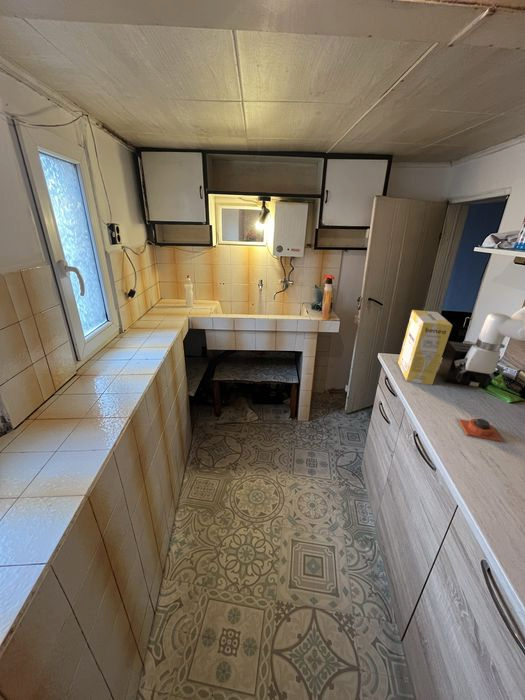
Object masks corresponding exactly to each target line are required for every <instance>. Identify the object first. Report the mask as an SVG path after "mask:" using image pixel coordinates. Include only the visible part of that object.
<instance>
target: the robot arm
mask: <svg viewBox="0 0 525 700" xmlns="http://www.w3.org/2000/svg"><path fill="white" fill-rule="evenodd" d="M505 338H510V339H513V340H516V341H519V342H525V306H523V307H522V308H521V309H519V310H517V311H516V312H515V313H513V314H512V315H511V316H510V315H507V314H503V313H497V312H491V313H489V314H487V316H486V318H485V320H484V323H483V325H482V328H481V330H480V332H479V335H478V338H477V340H476V342H475V343H476V345H472V347H471V348H470V349H469V351H468V353H467V354H466V356H465V358H464V359H461V360H457V361H455V367H456V368H457V370H458V374H457V376H456V379H457V380H458V382H461V381H462V379H463V376H464V374H463V373H464V372H466V371H468V370H469V371H474V372H480V373H487V374H488V375H486V376H485V379H484V381H483V384H484V385H485V386H486V387H487V388H488V387H489V385H490V384H491V382H492V380H494V379H495V378H496V377H499V376H500V375H501V374H503V372H505V368H503V367H502V366H501V365H499V362H500V359H499V356H500V357H501V351H500V350H501V349H504V348H505V347H506V345H505V344H503V343H504V340H505ZM459 364H462V365H463V366H462V367H460V366H459Z"/></svg>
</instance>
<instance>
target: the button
mask: <svg viewBox="0 0 525 700" xmlns="http://www.w3.org/2000/svg"><path fill="white" fill-rule="evenodd" d="M476 419H477V420H476V423H475V425H476V426H477V427H479V428H482V429H486V430H487V429H488V428H489V426H490V425H491V423H490V422H489V421H488V420H486V419H484V418H476Z"/></svg>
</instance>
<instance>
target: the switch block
mask: <svg viewBox="0 0 525 700" xmlns="http://www.w3.org/2000/svg"><path fill="white" fill-rule="evenodd" d="M477 419H478V418H472V419H470V420H465V419H462V418H461V419H458V422H459V423H460V426H461V428H462V430H463V431H464V433H465V435H466V436H469V437H473V438H480V439H484V440H489V441H495V442H500V443H503V439H502V438H501V436H500V435H499V433H498V432H497V430H496V429H495V428H494V426H493V425H492V424H490V426H489V428H488V429H487V430H486V429H482V428H479V427H477V426H476V425H475V423H476V420H477Z"/></svg>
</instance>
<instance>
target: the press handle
mask: <svg viewBox="0 0 525 700" xmlns="http://www.w3.org/2000/svg"><path fill="white" fill-rule="evenodd" d="M465 380H466V381H467V382H468V384H469V385H471V386H470V387H472V386H477V387H476V388H479V387H478V385H479V382H478V381H477V379H476V378H475V377H474V376H471V375H466V376H465Z"/></svg>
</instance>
